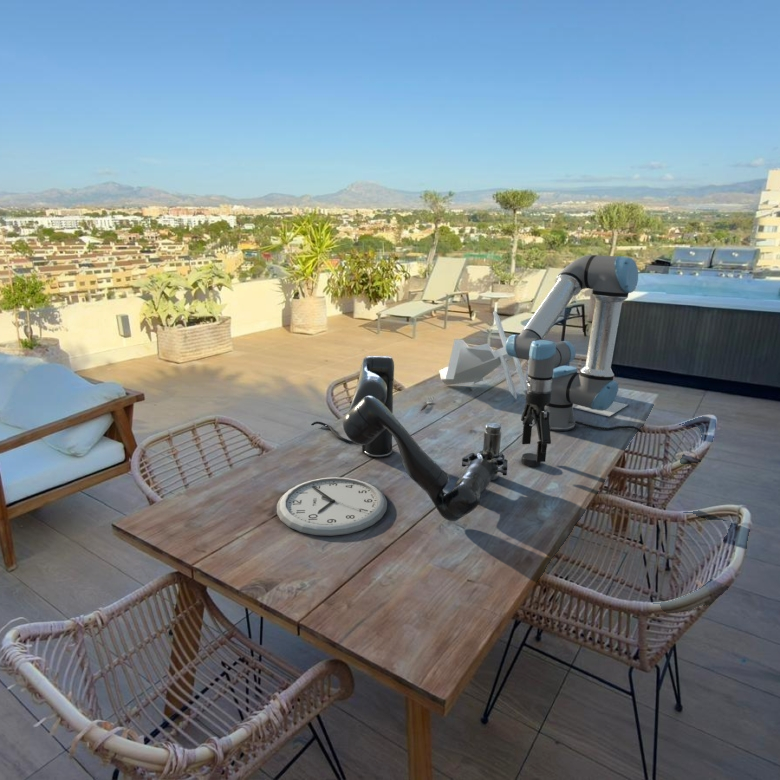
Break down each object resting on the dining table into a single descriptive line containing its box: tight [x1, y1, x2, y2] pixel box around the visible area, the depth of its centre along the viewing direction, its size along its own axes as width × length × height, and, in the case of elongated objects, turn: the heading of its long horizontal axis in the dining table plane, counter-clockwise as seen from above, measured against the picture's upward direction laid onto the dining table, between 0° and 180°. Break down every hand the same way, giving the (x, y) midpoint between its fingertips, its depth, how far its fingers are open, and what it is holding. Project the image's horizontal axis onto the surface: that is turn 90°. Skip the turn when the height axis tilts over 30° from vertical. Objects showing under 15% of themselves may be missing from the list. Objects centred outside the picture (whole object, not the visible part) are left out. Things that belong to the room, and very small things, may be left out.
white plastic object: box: [438, 310, 527, 400], centre depth 245 cm, size 37×45×31 cm
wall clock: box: [276, 476, 388, 537], centre depth 142 cm, size 30×2×30 cm
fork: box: [420, 396, 435, 411], centre depth 223 cm, size 3×16×2 cm, turn 160°
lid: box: [520, 452, 541, 468], centre depth 170 cm, size 6×6×2 cm
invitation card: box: [573, 401, 629, 418], centre depth 226 cm, size 21×1×15 cm
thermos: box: [482, 422, 502, 481], centre depth 158 cm, size 5×5×17 cm
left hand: (492, 454), depth 161 cm, fingers closed on thermos, 5 cm apart
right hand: (533, 452), depth 170 cm, fingers open, 13 cm apart
